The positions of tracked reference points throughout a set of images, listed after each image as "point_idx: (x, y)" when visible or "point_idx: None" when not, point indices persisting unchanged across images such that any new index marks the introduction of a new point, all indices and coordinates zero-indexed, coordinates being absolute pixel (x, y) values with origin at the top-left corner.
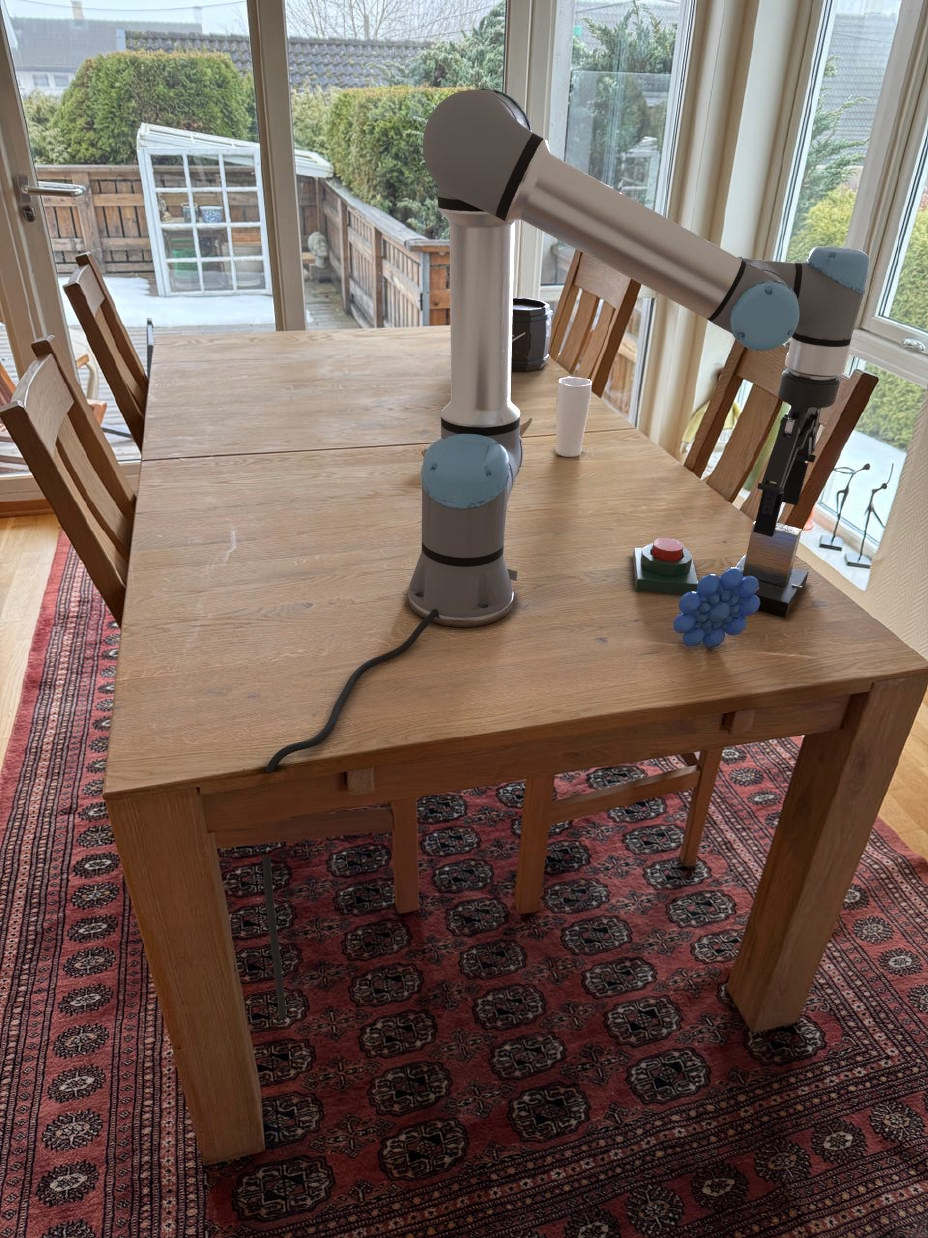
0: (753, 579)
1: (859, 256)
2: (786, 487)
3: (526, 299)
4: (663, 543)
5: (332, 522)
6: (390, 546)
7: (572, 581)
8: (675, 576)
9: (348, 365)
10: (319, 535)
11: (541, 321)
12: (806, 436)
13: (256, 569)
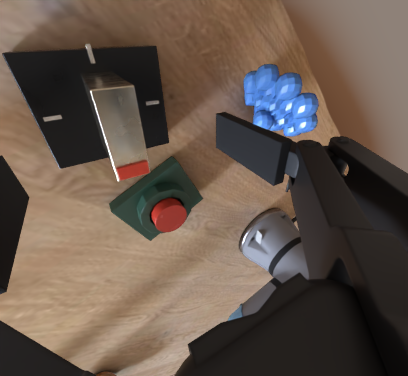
0: (300, 82)
1: None
2: (15, 213)
3: None
4: (172, 222)
5: (223, 309)
6: (230, 286)
7: (211, 224)
8: (178, 184)
9: None
10: (237, 299)
11: None
12: (391, 287)
13: (270, 279)
